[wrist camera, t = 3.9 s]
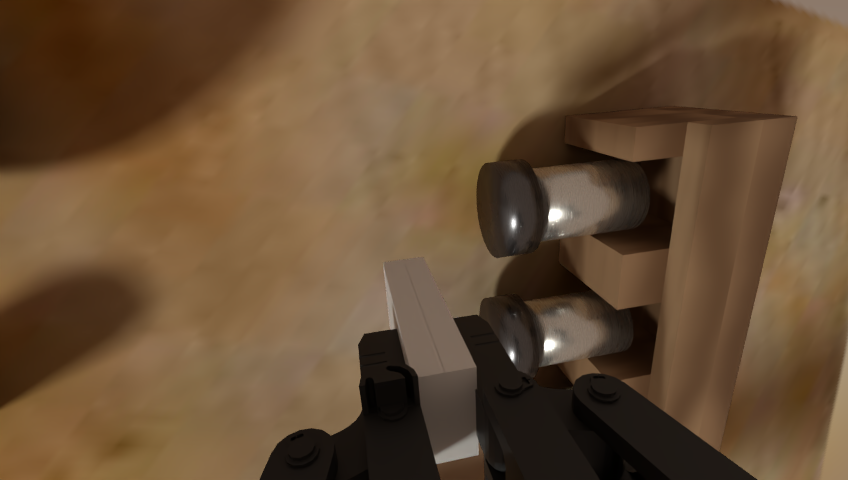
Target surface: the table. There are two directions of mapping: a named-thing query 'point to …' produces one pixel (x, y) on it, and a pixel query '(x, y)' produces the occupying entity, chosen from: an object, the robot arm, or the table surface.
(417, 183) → the table surface
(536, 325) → the knob
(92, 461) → the table surface
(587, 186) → the knob
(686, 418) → the wooden rack
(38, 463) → the table surface
